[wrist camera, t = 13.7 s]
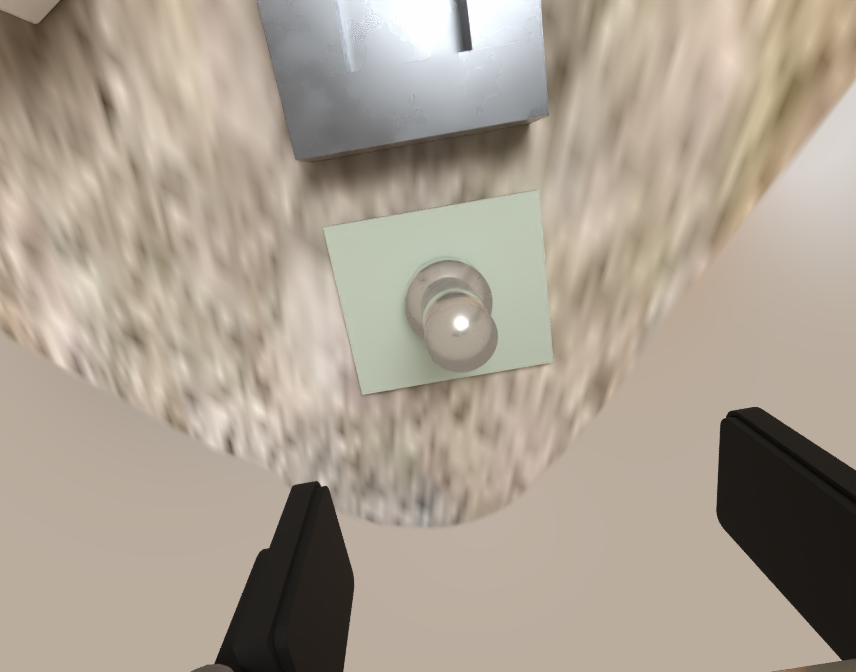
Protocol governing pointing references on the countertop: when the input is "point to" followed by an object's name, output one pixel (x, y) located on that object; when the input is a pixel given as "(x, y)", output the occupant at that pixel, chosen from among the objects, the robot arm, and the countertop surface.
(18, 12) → the jar
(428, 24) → the housing
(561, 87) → the countertop surface
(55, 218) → the countertop surface
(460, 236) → the mat
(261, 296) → the countertop surface
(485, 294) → the grey rounded knob
